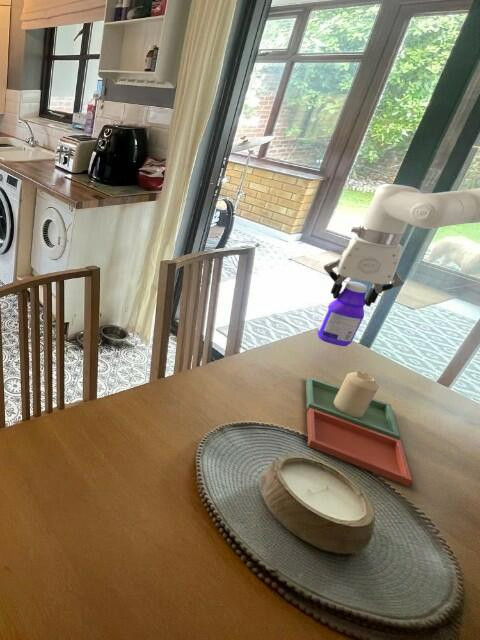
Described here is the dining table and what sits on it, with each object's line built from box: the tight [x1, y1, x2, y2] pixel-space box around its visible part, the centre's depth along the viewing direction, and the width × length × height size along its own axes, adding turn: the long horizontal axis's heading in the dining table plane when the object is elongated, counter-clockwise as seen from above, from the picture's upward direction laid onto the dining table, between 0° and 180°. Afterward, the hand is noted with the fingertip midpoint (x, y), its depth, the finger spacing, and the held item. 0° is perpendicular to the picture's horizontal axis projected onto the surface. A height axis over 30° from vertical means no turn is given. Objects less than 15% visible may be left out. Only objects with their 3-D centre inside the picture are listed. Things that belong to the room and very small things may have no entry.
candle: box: [333, 371, 380, 417], centre depth 95 cm, size 6×6×10 cm
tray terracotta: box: [306, 408, 413, 487], centre depth 87 cm, size 16×12×2 cm
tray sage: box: [305, 376, 400, 440], centre depth 97 cm, size 16×12×2 cm
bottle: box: [317, 281, 369, 347], centre depth 109 cm, size 7×6×17 cm
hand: (350, 299), depth 107 cm, fingers closed on bottle, 5 cm apart
